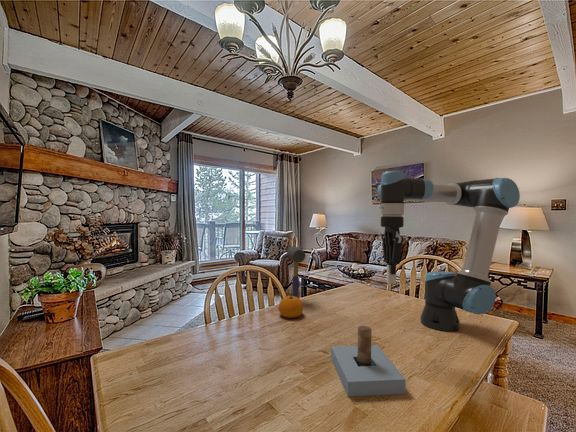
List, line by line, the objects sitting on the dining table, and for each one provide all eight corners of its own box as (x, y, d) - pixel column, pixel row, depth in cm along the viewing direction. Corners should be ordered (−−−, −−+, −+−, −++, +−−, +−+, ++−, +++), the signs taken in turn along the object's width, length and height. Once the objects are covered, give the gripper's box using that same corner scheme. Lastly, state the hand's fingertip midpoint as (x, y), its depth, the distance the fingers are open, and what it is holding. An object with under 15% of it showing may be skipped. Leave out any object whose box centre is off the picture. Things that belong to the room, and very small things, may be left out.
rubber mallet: (306, 306, 149) (306, 248, 148) (292, 307, 147) (292, 249, 146) (298, 299, 161) (298, 245, 160) (285, 300, 159) (285, 245, 158)
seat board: (377, 356, 99) (377, 344, 98) (405, 393, 79) (405, 379, 79) (330, 358, 97) (331, 346, 97) (347, 396, 77) (347, 381, 77)
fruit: (307, 314, 138) (307, 293, 138) (295, 322, 128) (295, 299, 128) (287, 309, 144) (287, 289, 144) (273, 316, 135) (273, 295, 134)
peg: (368, 369, 90) (369, 325, 90) (373, 377, 86) (374, 331, 86) (355, 370, 90) (355, 325, 90) (359, 378, 86) (360, 331, 85)
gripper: (374, 215, 107) (373, 278, 108) (389, 216, 94) (388, 288, 95) (394, 215, 108) (393, 278, 108) (411, 216, 95) (410, 287, 95)
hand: (391, 282), depth 101 cm, fingers closed
